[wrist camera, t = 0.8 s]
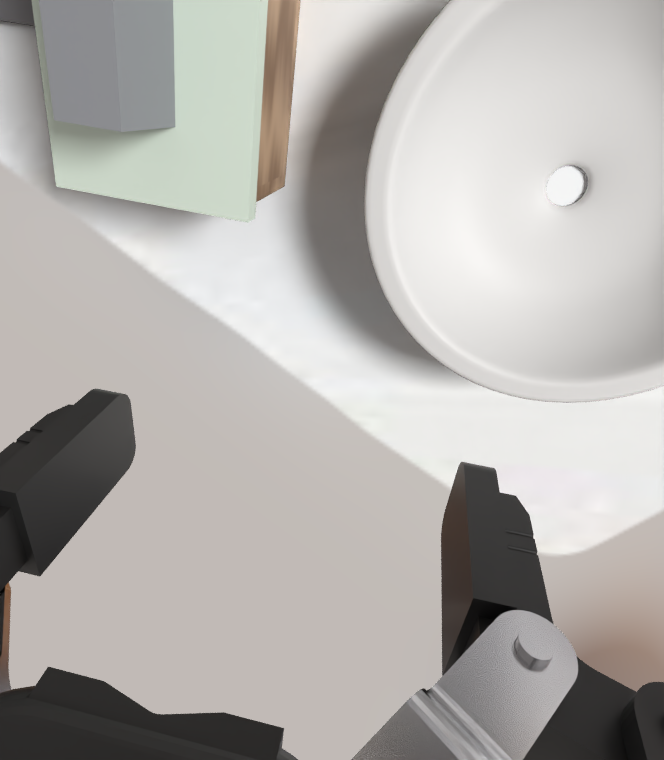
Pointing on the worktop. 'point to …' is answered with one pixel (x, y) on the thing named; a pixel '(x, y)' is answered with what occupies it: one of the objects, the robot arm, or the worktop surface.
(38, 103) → the worktop surface
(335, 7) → the worktop surface
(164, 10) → the lid
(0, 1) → the rubber mat
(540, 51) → the white sink basin
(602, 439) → the worktop surface
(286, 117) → the walnut box
